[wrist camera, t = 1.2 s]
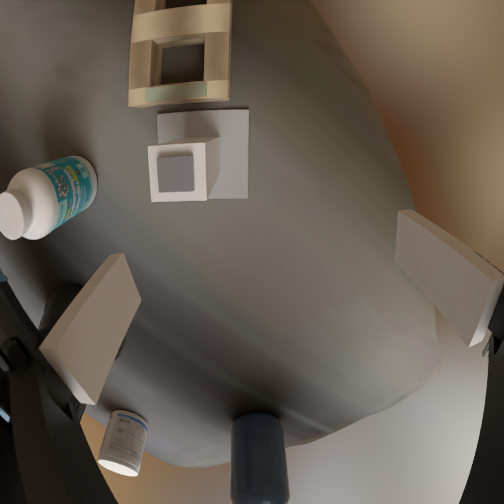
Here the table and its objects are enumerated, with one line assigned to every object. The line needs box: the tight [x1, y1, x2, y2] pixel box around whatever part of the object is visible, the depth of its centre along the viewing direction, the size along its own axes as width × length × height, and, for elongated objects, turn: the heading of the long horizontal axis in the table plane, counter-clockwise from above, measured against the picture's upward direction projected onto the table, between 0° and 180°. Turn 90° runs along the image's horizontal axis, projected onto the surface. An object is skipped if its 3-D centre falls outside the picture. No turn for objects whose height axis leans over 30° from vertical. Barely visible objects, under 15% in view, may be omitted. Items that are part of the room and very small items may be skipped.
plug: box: [148, 137, 221, 202], centre depth 23 cm, size 4×4×13 cm
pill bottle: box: [0, 156, 97, 240], centre depth 23 cm, size 8×7×14 cm
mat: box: [157, 110, 249, 199], centre depth 29 cm, size 10×10×1 cm
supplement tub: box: [98, 410, 148, 476], centre depth 46 cm, size 10×10×15 cm
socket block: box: [128, 0, 232, 108], centre depth 21 cm, size 10×18×4 cm, turn 179°
